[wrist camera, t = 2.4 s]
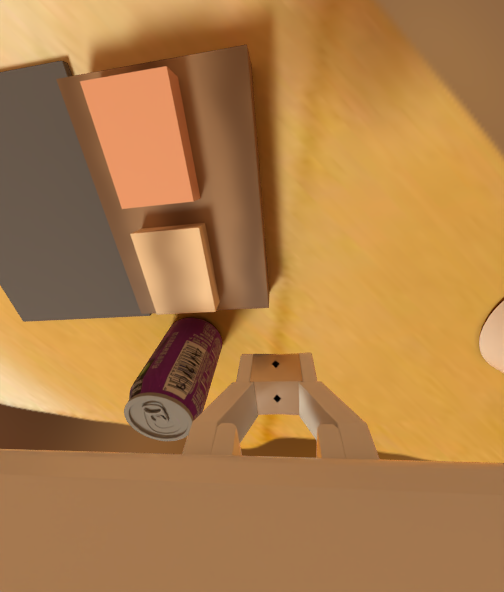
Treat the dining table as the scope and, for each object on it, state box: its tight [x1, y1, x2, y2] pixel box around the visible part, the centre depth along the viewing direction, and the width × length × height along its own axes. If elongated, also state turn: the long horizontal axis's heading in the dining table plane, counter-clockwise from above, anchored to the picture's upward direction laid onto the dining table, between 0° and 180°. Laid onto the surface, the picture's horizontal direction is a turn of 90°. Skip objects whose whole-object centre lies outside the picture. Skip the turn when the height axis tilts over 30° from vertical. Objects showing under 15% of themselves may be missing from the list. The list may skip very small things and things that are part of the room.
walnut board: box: [56, 45, 269, 314], centre depth 23 cm, size 14×20×4 cm
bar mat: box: [0, 61, 152, 321], centre depth 26 cm, size 18×24×1 cm
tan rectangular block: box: [130, 223, 220, 314], centre depth 23 cm, size 6×8×2 cm
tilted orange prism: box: [80, 66, 200, 209], centre depth 18 cm, size 6×8×2 cm
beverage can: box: [124, 318, 222, 441], centre depth 27 cm, size 7×7×12 cm
